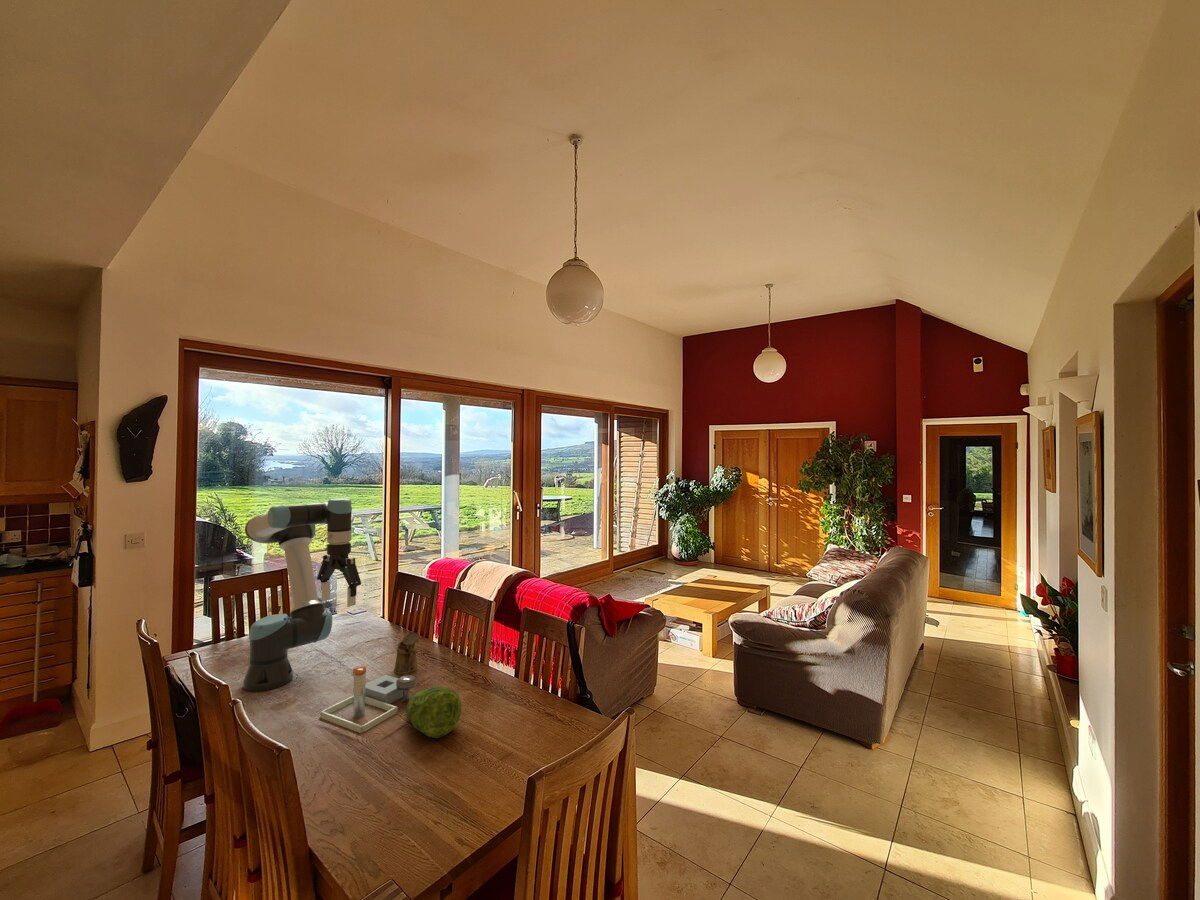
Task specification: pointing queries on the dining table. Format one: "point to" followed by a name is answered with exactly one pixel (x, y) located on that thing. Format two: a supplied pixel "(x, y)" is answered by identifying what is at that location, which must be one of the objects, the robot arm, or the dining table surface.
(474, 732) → the dining table surface
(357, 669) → the pin
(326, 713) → the tray
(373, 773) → the dining table surface
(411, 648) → the wooden mug
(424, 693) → the lettuce
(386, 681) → the block
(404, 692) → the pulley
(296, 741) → the dining table surface
